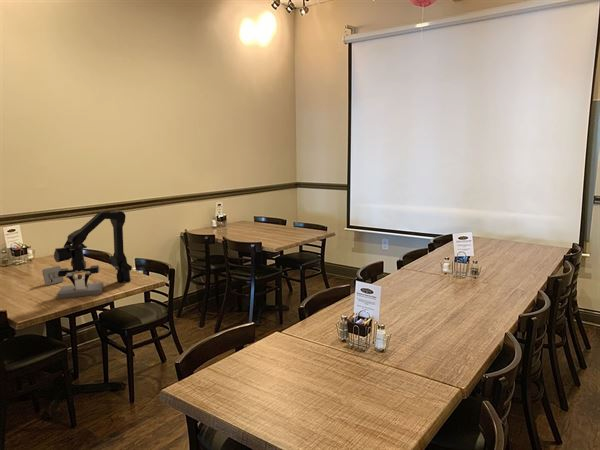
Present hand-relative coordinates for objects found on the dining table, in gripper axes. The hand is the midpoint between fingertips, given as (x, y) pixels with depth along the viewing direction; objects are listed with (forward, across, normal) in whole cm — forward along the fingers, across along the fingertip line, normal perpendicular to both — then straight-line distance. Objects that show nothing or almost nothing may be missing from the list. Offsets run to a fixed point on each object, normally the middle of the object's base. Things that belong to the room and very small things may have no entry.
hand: (81, 286), depth 234 cm
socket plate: (+3, 0, 0) cm, 3 cm away
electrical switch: (+3, +18, -24) cm, 30 cm away
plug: (+2, 0, 0) cm, 2 cm away
